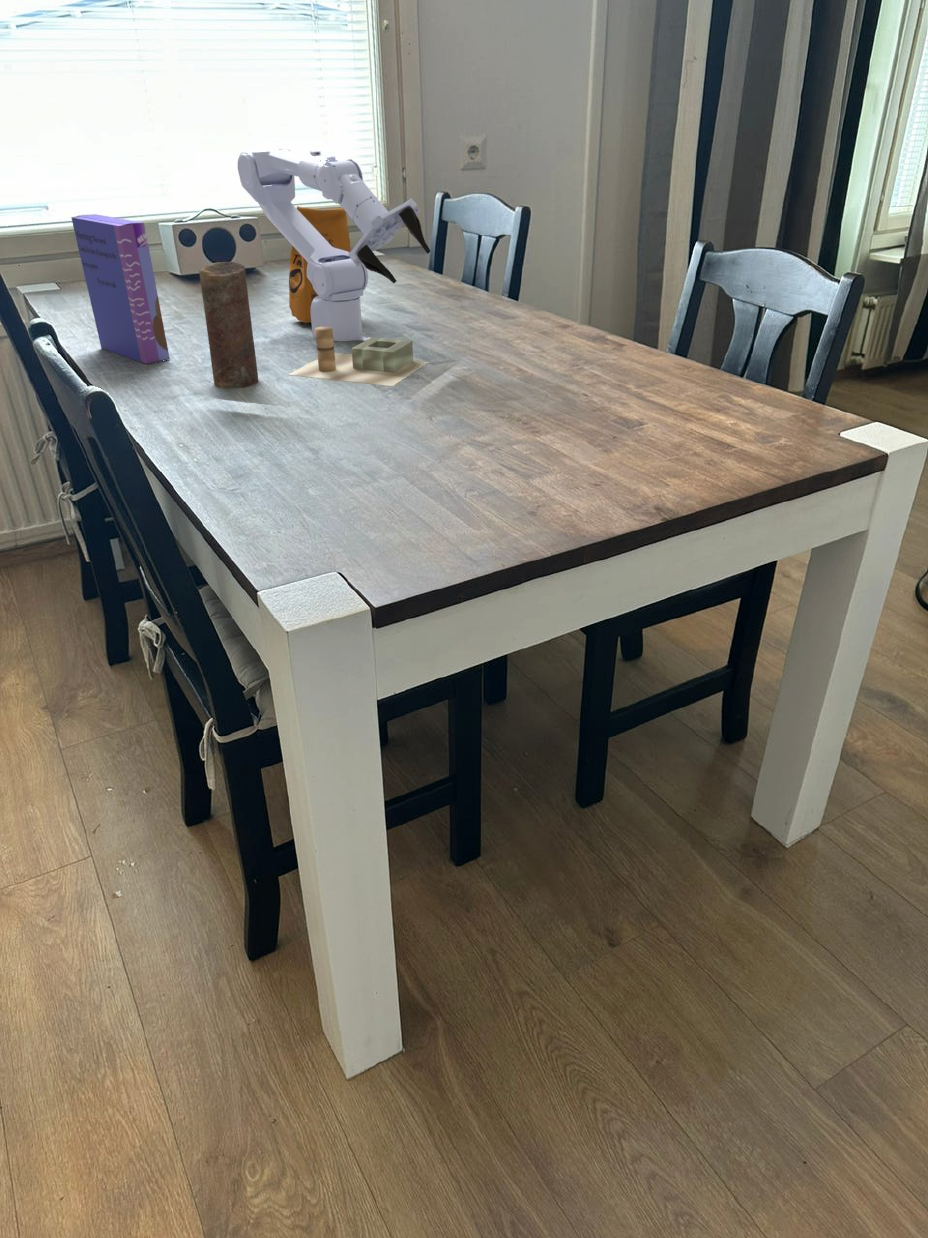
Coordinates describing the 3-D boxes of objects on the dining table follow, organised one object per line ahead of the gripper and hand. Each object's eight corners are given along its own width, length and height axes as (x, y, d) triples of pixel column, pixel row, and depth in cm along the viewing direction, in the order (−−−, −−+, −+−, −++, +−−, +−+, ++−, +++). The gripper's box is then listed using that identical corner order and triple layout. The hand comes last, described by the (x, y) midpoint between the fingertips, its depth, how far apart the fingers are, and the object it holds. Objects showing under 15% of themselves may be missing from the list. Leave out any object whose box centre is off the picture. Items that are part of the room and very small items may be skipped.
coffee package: (285, 314, 190) (282, 203, 179) (339, 313, 195) (339, 205, 184) (299, 323, 182) (297, 208, 171) (355, 322, 188) (356, 210, 177)
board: (288, 382, 151) (285, 353, 148) (330, 360, 163) (328, 333, 160) (393, 394, 145) (391, 364, 142) (428, 370, 156) (427, 342, 154)
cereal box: (169, 359, 164) (143, 221, 152) (147, 364, 162) (118, 224, 149) (123, 343, 175) (95, 213, 162) (101, 348, 172) (70, 215, 159)
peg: (315, 370, 152) (311, 329, 148) (324, 366, 154) (320, 325, 150) (330, 372, 151) (327, 331, 147) (339, 367, 153) (335, 327, 149)
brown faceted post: (269, 386, 150) (252, 262, 139) (246, 399, 144) (227, 270, 133) (230, 382, 152) (211, 260, 141) (206, 394, 146) (185, 268, 135)
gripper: (327, 227, 150) (369, 281, 147) (391, 170, 148) (435, 222, 145) (343, 249, 157) (384, 300, 153) (404, 194, 155) (447, 245, 151)
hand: (410, 264), depth 150 cm, fingers open, 7 cm apart
